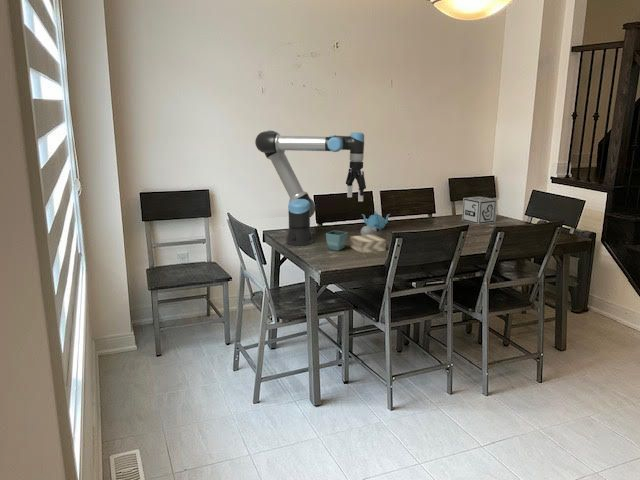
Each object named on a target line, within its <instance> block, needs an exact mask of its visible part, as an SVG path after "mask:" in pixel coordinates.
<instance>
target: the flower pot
mask: <svg viewBox="0 0 640 480" xmlns="http://www.w3.org/2000/svg"><path fill="white" fill-rule="evenodd" d="M348 234H349V233H348V231H347V232H346V231H340V230H332V231H328V232H326V233H325V238H326V239H325V240H326V244H327V246H328V248H329V249H330V250H333V251H338V252H339V251H340V250H343V249H344V248H345V246H346V244H347V241H348V236H349V235H348Z"/></svg>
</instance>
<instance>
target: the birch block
mask: <svg viewBox="0 0 640 480" xmlns="http://www.w3.org/2000/svg"><path fill="white" fill-rule="evenodd" d="M386 243H387V240H386V239H384V238H382V237H380V236H378V235H377V234H376V235H374V234H371V235H361V234H360V235H353V236H350V237H349V247H350V248H352V249H353V250H355V251H357V252H359V253H360V252H361V254H364V253H365V252H366V253H374V252H375V253H376V252H383V251H386V250H387V249H386V248H387V247H386V246H387V244H386Z"/></svg>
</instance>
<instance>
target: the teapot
mask: <svg viewBox="0 0 640 480" xmlns="http://www.w3.org/2000/svg"><path fill="white" fill-rule="evenodd" d="M390 215H391V213H389V214H387V215H386V217H385V219H384V217H383V216H382V215H381V214H379V213H377V211H376V210H374V213H373V214H371V215H370V216H369V217H368V219H367V218H366V215H365V214H364V213H363V214H362V213H361V216H362V217H363V223H364V224H365V225H366V226H370V227H371V226H372V227H373V228H374V227H376V228H375V229H376V230H378V231H380V232H381V231H382V230H383V229H384V228H385V226H386V225H387V224H388V221H389V216H390Z"/></svg>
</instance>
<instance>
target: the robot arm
mask: <svg viewBox="0 0 640 480" xmlns="http://www.w3.org/2000/svg"><path fill="white" fill-rule="evenodd" d="M254 143H255V147H256V149H257V150H258V151H259V152H261V153H264V155H265V157H266V159H268V160H270V161H271V163H272V165H273V168H274V169H275V171H276V173H277V175H278V177H279V179H280V181H281V182H282V183H281V184H282V185H283V187H284V189H285V192H287V195H288V197H289V201H288V206H287V208H288V230H287V233H286V237H285V243H286V244H287V245H291V246H308V245H313V243H314V237H313V234H312V231H311V225H310V224H311V217H312V216H313V215H314V214H315V213H316V204H315V201H314V200H313V199H312V198H311V197H310V196H309V194H308V192H306V191H304V189H303V188H302V186H301V183H300V181H299V180H298V177H297V175H296V173H295V171H294V170H293V168H292V166H291V163H290V162H289V160H288V157H287V156H286V154H285V151H300V152H301V151H307V152H308V151H309V152H310V151H311V152H333V153H337V152H340V151H349V168H348V172H347V176H346V179H345V180H346V181H345V184H346V186H347V193H346V196H347V197H346V198H353V187H354V186H353V183H354V181H355V180H356V182H357V185H358V191H357V193H358V195H357V199H358V201H357V202H364V191H365V190H366V188H367V185H366V179H365V171H363V170H362V169H363V168H364V157H365V155H364V152H365V149H364V148H365V134H364V133H363V132H351V133H350V135H336V134H335V135H329V136H308V135H307V136H301V135H297V136H296V135H281V134H280V133H279V132H277V131H275V130H266V131H262V132H261V131H260V133H258V134H257V135H256V137H255V142H254Z"/></svg>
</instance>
